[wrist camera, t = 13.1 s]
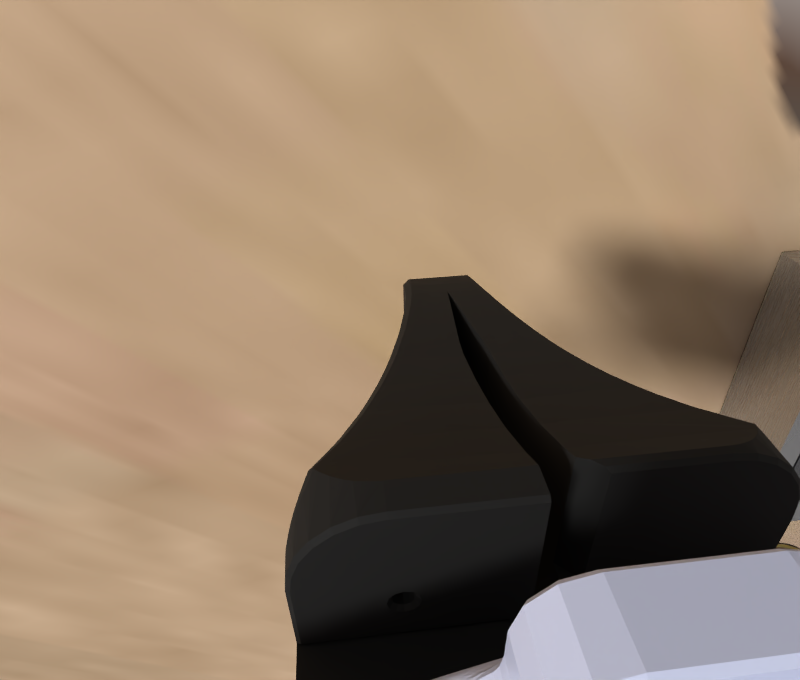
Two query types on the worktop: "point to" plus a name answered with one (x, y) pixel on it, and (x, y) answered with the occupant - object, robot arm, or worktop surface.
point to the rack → (773, 366)
